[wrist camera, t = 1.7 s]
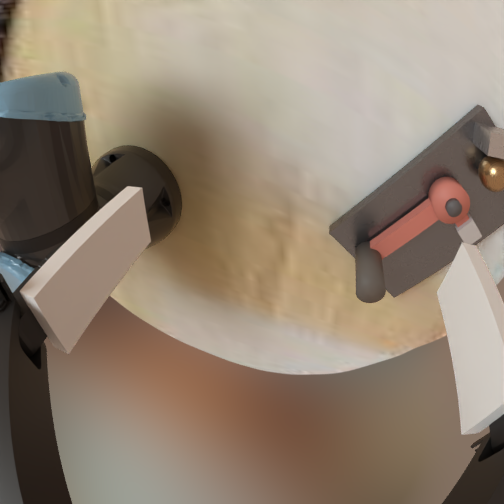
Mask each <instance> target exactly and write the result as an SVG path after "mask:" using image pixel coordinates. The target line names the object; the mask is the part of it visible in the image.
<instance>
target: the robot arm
mask: <svg viewBox="0 0 504 504" xmlns="http://www.w3.org/2000/svg"><path fill="white" fill-rule="evenodd" d="M85 119H86V114H85V113H84V112H83V107H82V100H81V94H80V87H79V83H78V81H77V79H76V77H75V76H73V75H72V74H70V73H68V72H54V73H47V74H41V75H35V76H29V77H24V78H19V79H15V80H10V81H6V82H2V83H0V244H1V246H2V251H1V252H0V504H72V501H71V498H70V495H69V491H68V488H67V484H66V481H65V477H64V473H63V469H62V465H61V460H60V456H59V452H58V446H57V441H56V436H55V430H54V424H53V417H52V410H51V403H50V393H49V383H48V370H47V353H46V352H47V350H46V345H45V343H44V340H45V339H46V337H48V338H49V340H50V341H51V343H52V344H53V346H54V347H56V348H58V349H60V350H62V351H64V352H65V353H68V354H69V353H70V352H71V350H72V348H73V347H74V345H75V344H76V342H77V341H78V339H79V338H80V336H81V335H82V334H83V332H84V331H85V329H86V328H87V326H88V325H89V323H90V322H91V321H92V319H93V318H94V316H95V315H96V313H97V312H98V311H99V309H100V308H101V306H102V305H103V304H104V302H105V301H106V299H107V298H108V297H109V295H110V294H111V293H112V291H113V290H114V289H115V287H116V286H117V285H118V283H119V282H120V281H121V279H122V278H123V277H124V275H125V274H126V273H127V271H128V270H129V269H130V267H131V266H132V265H133V264H134V262H135V261H136V260H137V258H138V257H139V256H140V255H141V253H142V252H143V251H144V250H145V249H147V248H149V247H151V246H153V245H155V244H156V243H158V242H160V241H162V240H163V239H164V238H166V237H167V236H168V234H169V233H170V232H171V231H172V230H173V228H174V227H175V226H176V224H177V222H178V220H179V218H180V214H181V207H182V202H181V195H180V191H179V187H178V185H177V182H176V180H175V178H174V176H173V175H172V173H171V171H170V170H169V169H168V167H167V166H166V165H165V164H164V163H163V162H162V161H161V160H160V159H159V158H158V157H156V156H155V155H154V154H152V153H151V152H149V151H147V150H145V149H142V148H139V147H135V146H120V147H117V148H114V149H112V150H111V151H109V152H107V153H106V154H104V155H103V156H101V157H100V158H99V159H98V160H97V161H96V162H95V163H94V165H93V166H92V168H91V164H90V158H89V152H88V146H87V140H86V133H85V124H84V120H85ZM437 296H438V299H439V303H440V307H441V311H442V315H443V319H444V323H445V327H446V332H447V336H448V341H449V346H450V351H451V356H452V361H453V367H454V373H455V380H456V386H457V394H458V402H459V410H460V421H461V434H474V433H479V432H480V431H482V430H483V429H485V428H486V427H488V426H489V427H490V433H488V434H487V435H485V436H484V437H482V438H481V439H479V440H477V441H476V442H475V443H473V444H472V446H471V448H474V447H475V446H477V445H479V444H480V443H481V444H480V446H479V448H478V449H476V450H475V451H476V453H475V455H474V457H473V458H472V460H471V462H470V463H469V465H468V467H467V468H466V470H465V471H464V473H463V474H462V476H461V478H460V479H459V480H458V482H457V484H456V485H455V486H454V488H453V489H452V491H451V492H450V493H449V495H448V496H447V498H446V499H445V501H444V502H443V503H442V504H504V303H503V301H502V298H501V296H500V294H499V291H498V289H497V287H496V285H495V282H494V280H493V278H492V276H491V274H490V272H489V270H488V268H487V266H486V264H485V262H484V260H483V258H482V256H481V254H480V252H479V250H478V248H477V246H475V245H471V244H467V243H463V242H462V244H461V246H460V248H459V250H458V252H457V254H456V256H455V258H454V260H453V262H452V264H451V266H450V268H449V270H448V272H447V274H446V276H445V278H444V280H443V282H442V284H441V286H440V287H439V289H438V291H437Z"/></svg>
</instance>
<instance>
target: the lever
mask: <svg viewBox="0 0 504 504" xmlns="http://www.w3.org/2000/svg"><path fill="white" fill-rule="evenodd" d="M469 208H470V198H469V196H468V194H467V192H466V191H465V190H464V188H463V187H462V186H461V185H460V183H459V182H458V181H457V180H456V179H454V178H452V177H441V178H439V179H437V180H436V181H435V182H434V183H433V184H432V185H431V187H430V189H429V193H428V199H426V200H425V201H424V202H423V203H421V204H420V205H419V206H417V207H416V208H415V209H413V210H412V211H411V212H409V213H408V214H407V215H405V216H404V217H403V218H401V219H400V220H399V221H397V222H396V223H395V224H393V225H392V226H390V227H389V228H388V229H386V230H385V231H384V232H382V233H381V234H379V235H378V236H377V237H375V238H374V239H372V240H371V241H366V242H363V243H361V244H359V245H358V246H357V248H356V250H355V263H356V295H357V297H358V299H359V300H361V301H363V302H366V303H374V302H377V301H379V300H381V299H382V298H383V297H384V295H385V292H386V289H385V280H384V272H383V265H382V259H383V258H385V257H386V256H388V255H389V254H391V253H392V252H394V251H395V250H397V249H398V248H400V247H401V246H403V245H404V244H405V243H407V242H408V241H410V240H411V239H413V238H414V237H415V236H417V235H418V234H420V233H421V232H422V231H424V230H425V229H427V228H428V227H429V226H431V225H432V224H433V223H435V222H436V221H438V220H440V221H442V222H443V223H446V224H454V226H455V228H456V230H457V232H458V233H459V235H460V237H461V238H462V240H463V242H464V243H467V244H473V243H474V242H476V241H477V240H478V239H480V238H481V237H482V235H481V233H480V231H479V229H478V228H477V226H476V224H475V222H474V221H473V219H472V217H471V216H470V214H469V213H468V211H469Z"/></svg>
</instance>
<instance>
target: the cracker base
mask: <svg viewBox="0 0 504 504" xmlns="http://www.w3.org/2000/svg"><path fill="white" fill-rule="evenodd" d="M441 177H452V178H454V179H456V180H457V181H458V182H459V183H460V185H461V186H462V187H463V188H464V190H465V191H466V192H467V194H468V196H469V198H470V208H469V211H468V213H469V214H470V216H471V217H472V219H473V221H474V222H475V224H476V226H477V228H478V229H479V231H480V233H481V235H482V237H481V238H480V239H478V240H477V241H476V242H474V243H473V244H471V245H476V244H477V243H479V242H480V241H482V240H483V239H484V238H486V237H487V236H488V235H490V234H491V233H492V232H494V231H495V230H496V229H498V228H499V227H500V226H501V225H503V224H504V129H501V128H498V127H495V125H494V123H493V122H492V120H491V118H490V117H489V115H488V113H487V112H486V110H485V109H484V107H482V106H480V105H477V106H476V107H475V108H474V109H472V110H471V111H470V112H469V113H468V114H467V115H465V116H464V117H463V118H462V119H461V120H460V121H458V122H457V123H456V124H455V125H454V126H452V127H451V128H450V129H449V130H448V131H447V132H445V133H444V134H443V135H442V136H441V137H439V138H438V139H437V140H436V141H435V142H433V143H432V144H431V145H430V146H429V147H427V148H426V149H425V150H424V151H423V152H421V153H420V154H419V155H418V156H417V157H415V158H414V159H413V160H412V161H410V162H409V163H408V164H407V165H406V166H404V167H403V168H402V169H401V170H399V171H398V172H397V173H396V174H395V175H393V176H392V177H391V178H390V179H388V180H387V181H386V182H385V183H383V184H382V185H381V186H380V187H378V188H377V189H376V190H375V191H374V192H372V193H371V194H370V195H369V196H367V197H366V198H365V199H363V200H362V201H361V202H360V203H358V204H357V205H356V206H355V207H353V208H352V209H351V210H350V211H348V212H347V213H346V214H345V215H343V216H342V217H341V218H339V219H338V220H337V221H336V222H334V223H333V224H332V225H331V226H330V228H329V234H330V235H331V236H333V237H334V238H335V239H336V240H337V241H338V242H339V243H340V244H341V245H342V246H343V247H344V248H345V249H346V250H347V251H348V252H349V253H350V254H351V255H352V256H353V257H354V258H355V250H356V248H357V246H358V245H359V244H361V243H363V242H366V241H371V240H372V239H374V238H375V237H377V236H378V235H379V234H381V233H382V232H384V231H385V230H386V229H388V228H389V227H390V226H392V225H393V224H395V223H396V222H397V221H399V220H400V219H401V218H403V217H404V216H405V215H407V214H408V213H409V212H411V211H412V210H413V209H415V208H416V207H417V206H419V205H420V204H421V203H423V202H424V201H425V200H426V199H428V193H429V189H430V187H431V185H432V184H433V183H434V182H435V181H436V180H437V179H439V178H441ZM462 242H463V240H462V238H461V237H460V235H459V233H458V232H457V230H456V228H455V226H454V224H446V223H443V222H442V221H440V220H438V221H436V222H435V223H433V224H432V225H431V226H429V227H428V228H427V229H425V230H424V231H422V232H421V233H420V234H418V235H417V236H415V237H414V238H413V239H411V240H410V241H408V242H407V243H405V244H404V245H403V246H401V247H400V248H398V249H397V250H395V251H394V252H392V253H391V254H389V255H388V256H386V257H385V258H383V259H382V265H383V272H384V280H385V289H386V290H387V291H388V292H389V293H390V294H391V295H392V296H393V297H396V296H398V295H400V294H401V293H403V292H405V291H406V290H408V289H410V288H411V287H413V286H414V285H416V284H418V283H419V282H421V281H422V280H424V279H426V278H427V277H429V276H430V275H432V274H433V273H435V272H437V271H438V270H440V269H441V268H443V267H444V266H446V265H447V264H449V263H450V262H452V261H453V260H454V258H455V256H456V254H457V252H458V250H459V248H460V246H461V244H462ZM463 243H464V242H463Z"/></svg>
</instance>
